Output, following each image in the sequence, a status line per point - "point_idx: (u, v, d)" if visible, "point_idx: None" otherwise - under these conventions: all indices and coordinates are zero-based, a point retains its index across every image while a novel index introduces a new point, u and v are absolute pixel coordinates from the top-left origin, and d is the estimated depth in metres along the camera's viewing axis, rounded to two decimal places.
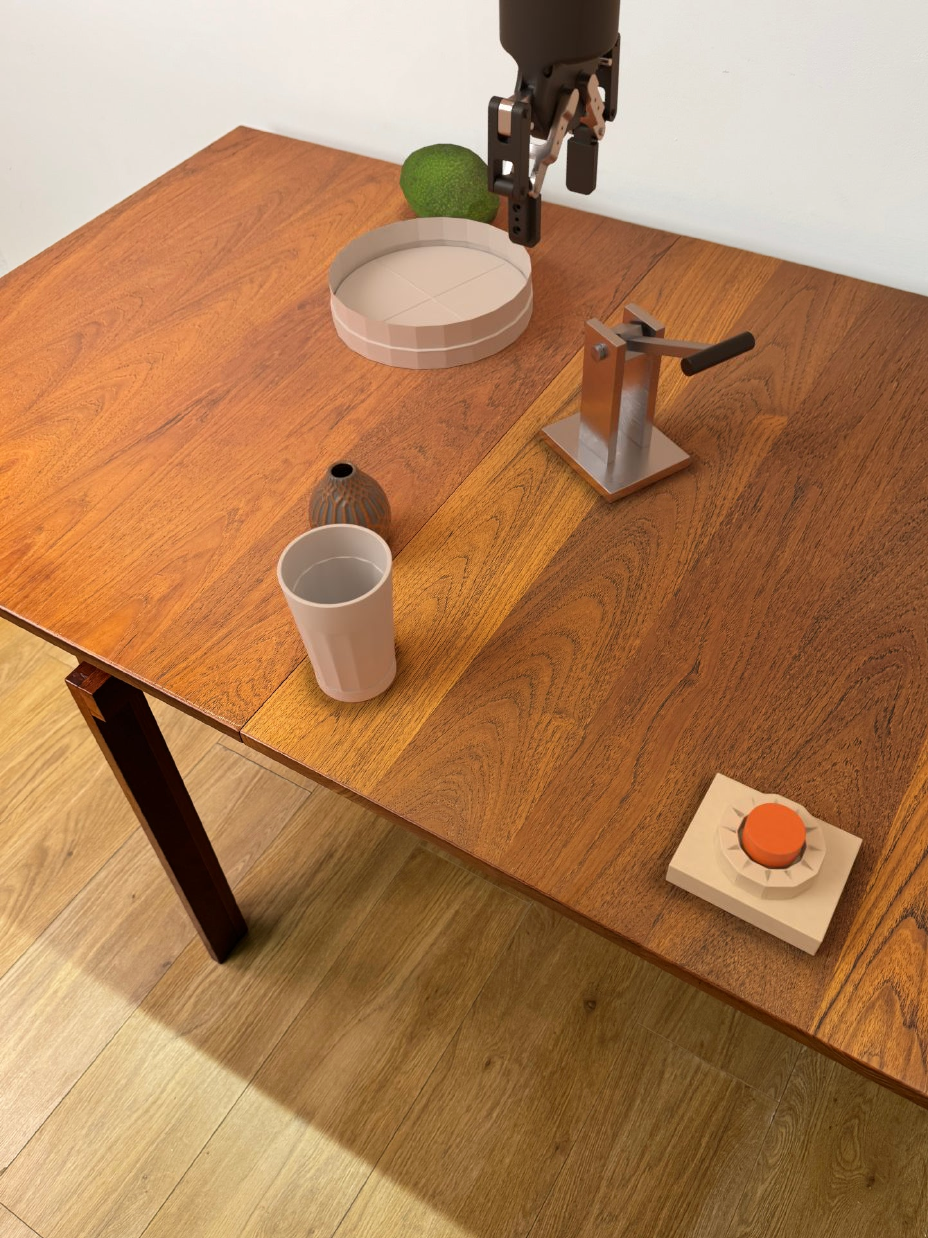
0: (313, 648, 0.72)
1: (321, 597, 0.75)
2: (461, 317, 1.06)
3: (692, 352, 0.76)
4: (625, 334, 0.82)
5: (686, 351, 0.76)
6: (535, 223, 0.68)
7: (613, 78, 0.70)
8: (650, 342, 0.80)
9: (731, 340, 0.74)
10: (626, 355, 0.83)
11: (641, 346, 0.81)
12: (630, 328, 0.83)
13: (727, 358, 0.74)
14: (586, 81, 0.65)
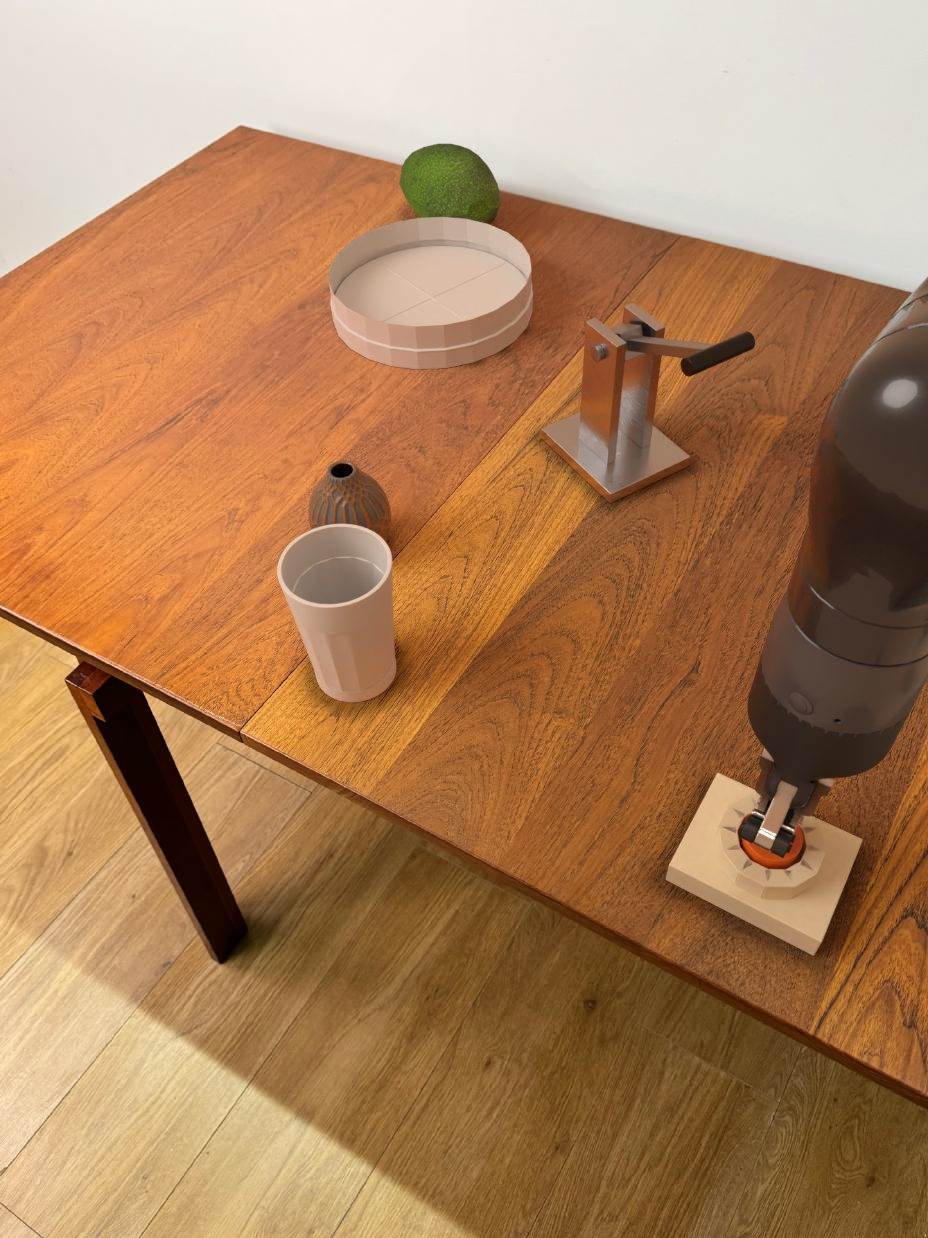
0: (313, 648, 0.72)
1: (321, 597, 0.75)
2: (461, 317, 1.06)
3: (692, 352, 0.76)
4: (625, 334, 0.82)
5: (686, 351, 0.76)
6: None
7: None
8: (650, 342, 0.80)
9: (731, 340, 0.74)
10: (626, 355, 0.83)
11: (641, 346, 0.81)
12: (630, 328, 0.83)
13: (727, 358, 0.74)
14: None
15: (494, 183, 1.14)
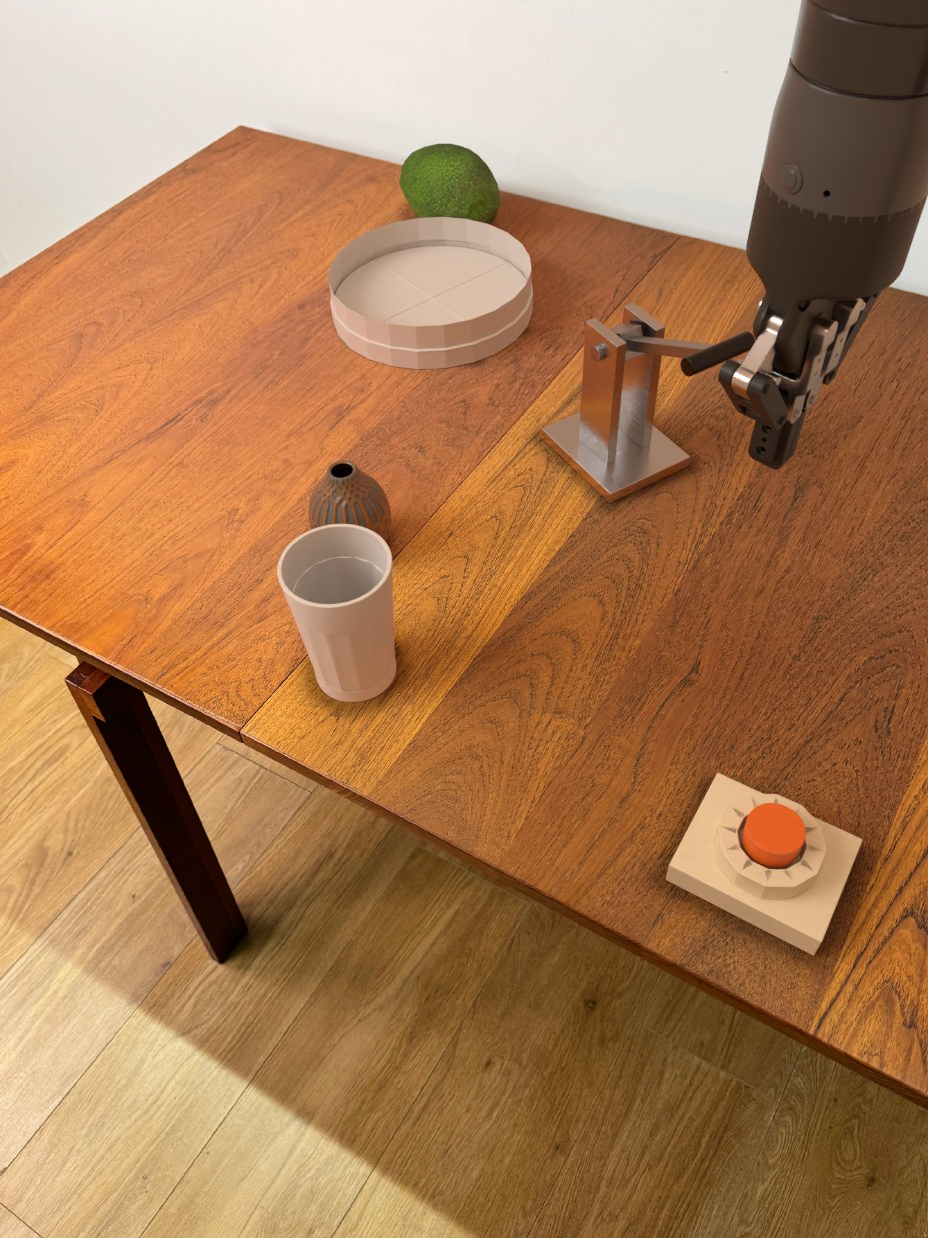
0: (313, 648, 0.72)
1: (321, 597, 0.75)
2: (461, 317, 1.06)
3: (692, 352, 0.76)
4: (625, 334, 0.82)
5: (686, 351, 0.76)
6: (785, 446, 0.57)
7: (853, 332, 0.55)
8: (650, 342, 0.80)
9: (731, 340, 0.74)
10: (626, 355, 0.83)
11: (641, 346, 0.81)
12: (630, 328, 0.83)
13: (727, 358, 0.74)
14: (849, 308, 0.51)
15: (494, 183, 1.14)
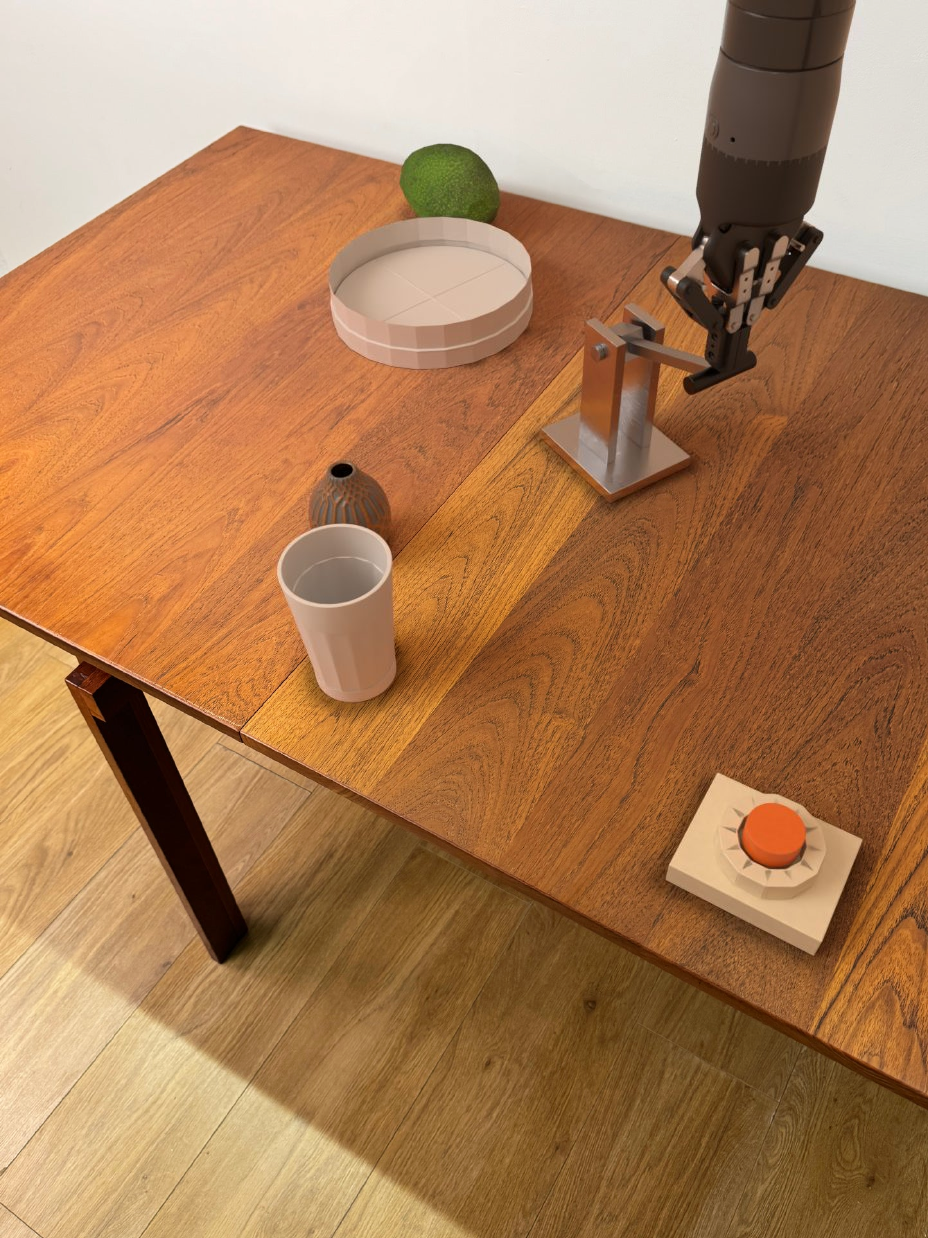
0: (313, 648, 0.72)
1: (321, 597, 0.75)
2: (461, 317, 1.06)
3: (694, 366, 0.76)
4: (626, 337, 0.82)
5: (688, 365, 0.77)
6: (729, 354, 0.72)
7: (794, 269, 0.69)
8: (651, 348, 0.80)
9: None
10: (626, 357, 0.83)
11: (642, 351, 0.81)
12: (631, 330, 0.83)
13: (728, 377, 0.75)
14: (774, 241, 0.66)
15: (494, 183, 1.14)
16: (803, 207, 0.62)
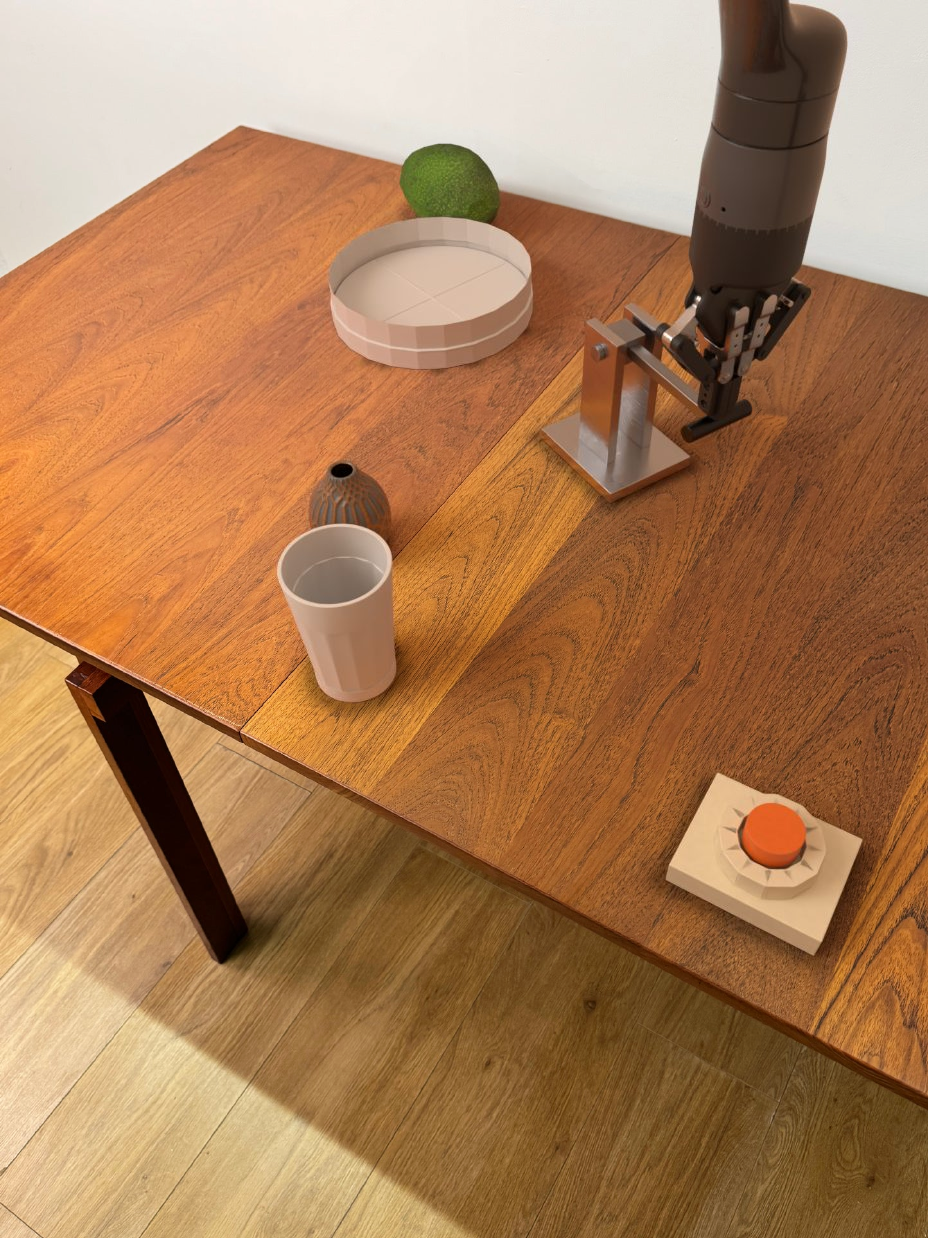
0: (313, 648, 0.72)
1: (321, 597, 0.75)
2: (461, 317, 1.06)
3: (692, 406, 0.79)
4: (628, 343, 0.83)
5: (687, 401, 0.79)
6: (721, 402, 0.75)
7: (783, 323, 0.72)
8: (653, 367, 0.81)
9: None
10: None
11: (642, 363, 0.82)
12: (634, 336, 0.83)
13: (723, 427, 0.78)
14: (764, 299, 0.69)
15: (494, 183, 1.14)
16: (791, 271, 0.65)
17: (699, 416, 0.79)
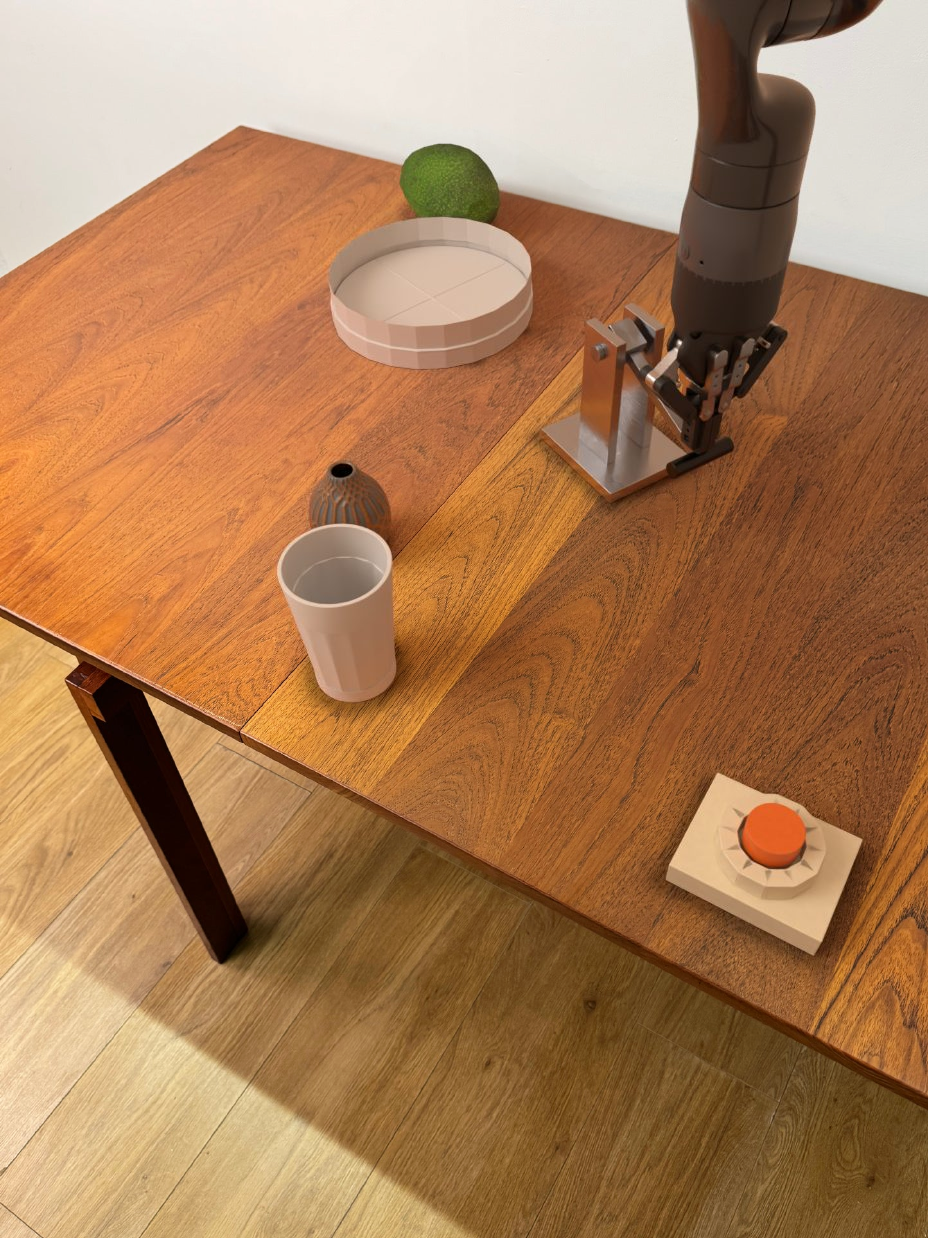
0: (313, 648, 0.72)
1: (321, 597, 0.75)
2: (461, 317, 1.06)
3: (680, 436, 0.82)
4: (629, 351, 0.83)
5: (676, 430, 0.82)
6: (702, 438, 0.79)
7: (761, 363, 0.76)
8: None
9: (716, 451, 0.81)
10: None
11: None
12: (636, 344, 0.83)
13: None
14: (741, 343, 0.72)
15: (494, 183, 1.14)
16: (766, 318, 0.69)
17: (684, 448, 0.82)
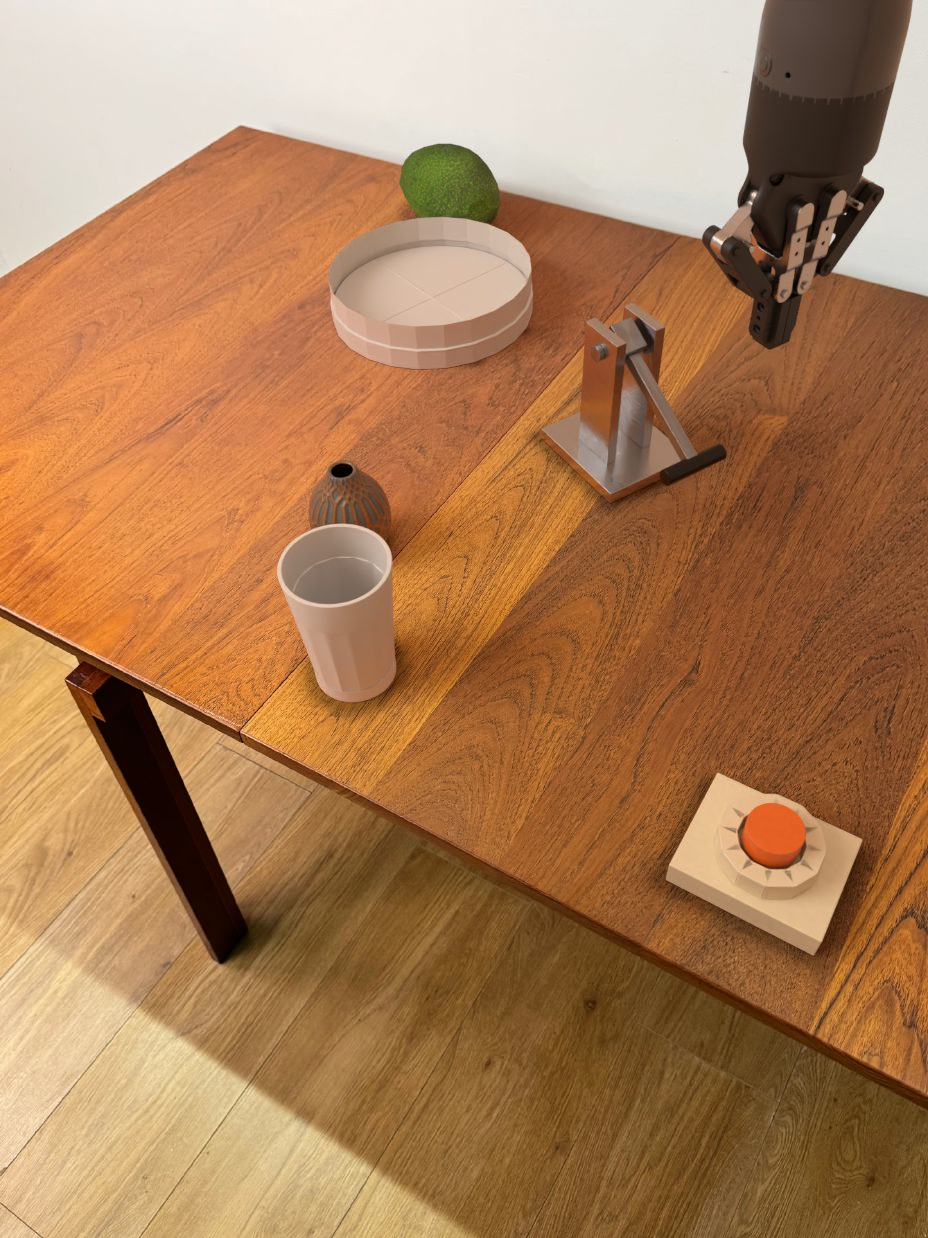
0: (313, 648, 0.72)
1: (321, 597, 0.75)
2: (461, 317, 1.06)
3: (675, 442, 0.83)
4: (629, 353, 0.83)
5: (671, 435, 0.83)
6: (777, 327, 0.65)
7: (850, 230, 0.62)
8: (647, 387, 0.83)
9: (709, 459, 0.83)
10: None
11: (637, 376, 0.84)
12: (637, 346, 0.83)
13: None
14: (831, 196, 0.58)
15: (494, 183, 1.14)
16: (866, 154, 0.55)
17: (678, 454, 0.83)
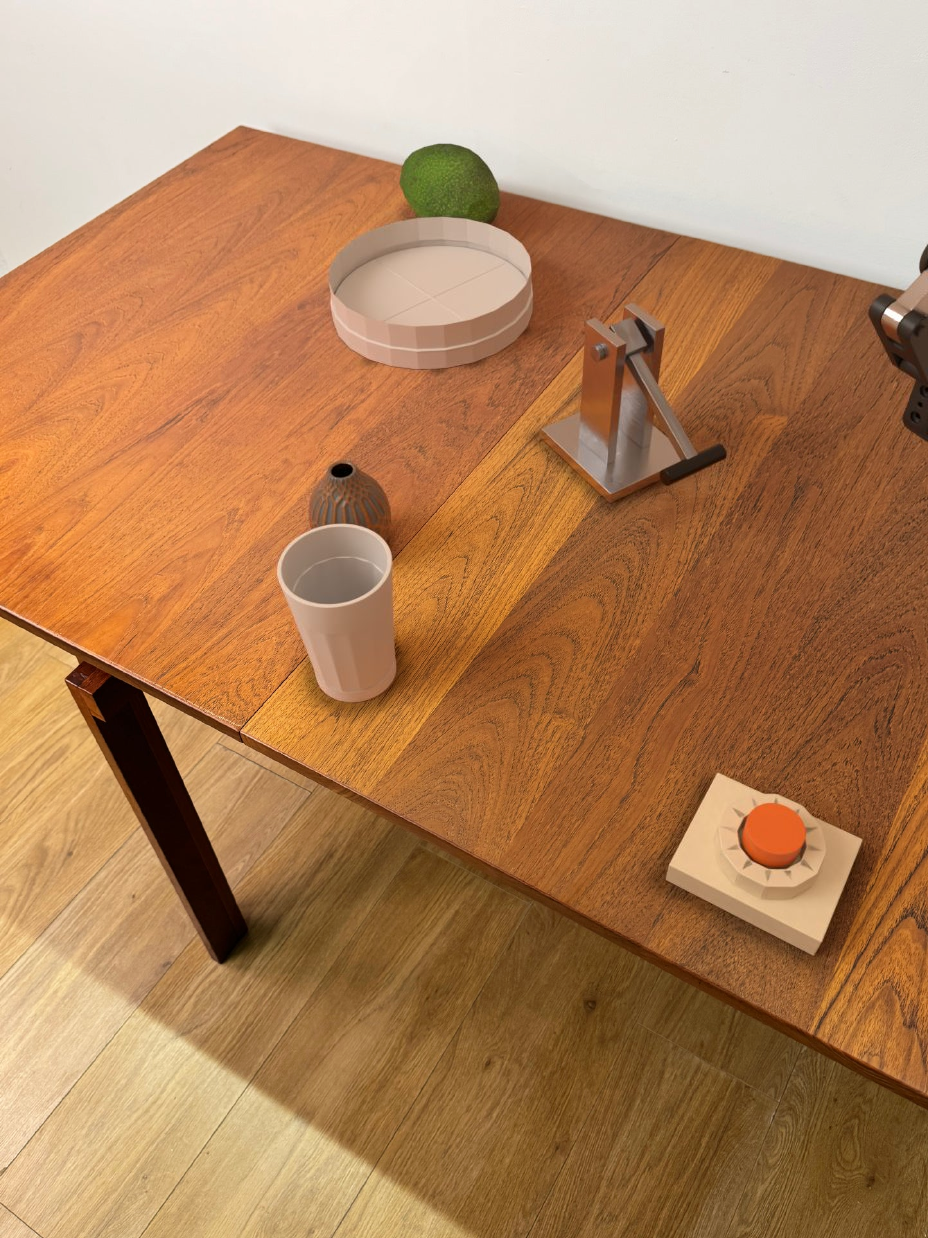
0: (313, 648, 0.72)
1: (321, 597, 0.75)
2: (461, 317, 1.06)
3: (675, 442, 0.83)
4: (629, 353, 0.83)
5: (671, 435, 0.83)
6: None
7: None
8: (647, 387, 0.83)
9: (709, 459, 0.83)
10: None
11: (637, 376, 0.84)
12: (637, 346, 0.83)
13: None
14: None
15: (494, 183, 1.14)
16: None
17: (678, 454, 0.83)
